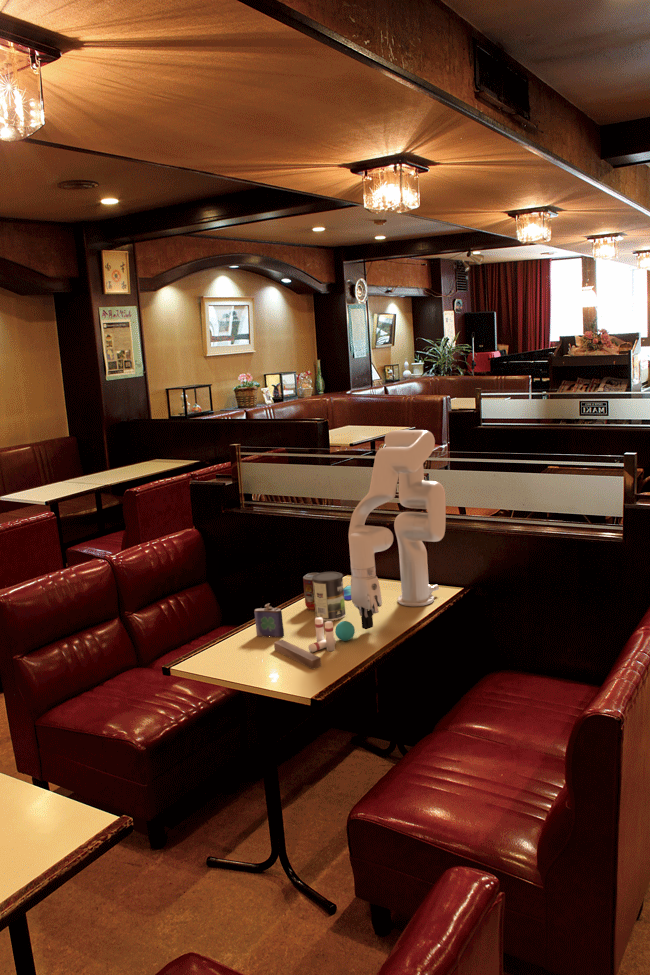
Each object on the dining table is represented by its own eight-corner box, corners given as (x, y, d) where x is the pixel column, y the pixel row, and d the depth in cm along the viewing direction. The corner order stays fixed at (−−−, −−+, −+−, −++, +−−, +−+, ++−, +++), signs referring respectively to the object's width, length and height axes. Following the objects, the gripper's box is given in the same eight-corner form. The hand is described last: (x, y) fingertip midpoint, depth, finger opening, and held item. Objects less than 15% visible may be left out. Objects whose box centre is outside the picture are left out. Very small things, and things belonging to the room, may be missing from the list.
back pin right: (321, 643, 229) (319, 616, 228) (326, 645, 227) (324, 618, 226) (315, 645, 228) (313, 618, 226) (320, 647, 226) (317, 620, 224)
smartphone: (331, 598, 269) (347, 585, 283) (331, 600, 270) (347, 587, 283) (350, 599, 266) (366, 586, 280) (351, 602, 266) (366, 588, 280)
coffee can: (348, 610, 256) (345, 571, 254) (342, 621, 246) (339, 580, 244) (318, 610, 258) (315, 571, 256) (312, 621, 249) (309, 580, 246)
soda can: (302, 611, 259) (299, 577, 257) (311, 604, 266) (308, 571, 264) (320, 612, 256) (317, 578, 254) (329, 605, 263) (326, 572, 261)
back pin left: (331, 647, 225) (329, 620, 224) (336, 649, 223) (334, 622, 222) (325, 649, 224) (322, 622, 222) (329, 652, 222) (327, 624, 220)
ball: (328, 628, 229) (337, 642, 232) (339, 633, 225) (349, 647, 227) (340, 615, 232) (349, 628, 234) (352, 619, 227) (361, 633, 230)
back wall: (282, 647, 228) (282, 639, 228) (321, 666, 212) (320, 657, 212) (274, 650, 227) (273, 642, 226) (312, 669, 211) (312, 660, 210)
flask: (255, 637, 239) (252, 605, 237) (259, 633, 242) (255, 602, 240) (282, 638, 236) (279, 605, 234) (285, 634, 239) (282, 602, 237)
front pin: (330, 635, 228) (307, 643, 223) (335, 637, 226) (312, 645, 221) (331, 643, 228) (308, 651, 224) (336, 645, 226) (313, 653, 222)
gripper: (388, 573, 228) (392, 630, 231) (357, 564, 240) (361, 618, 243) (369, 579, 223) (373, 637, 227) (339, 570, 235) (343, 625, 239)
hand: (367, 627), depth 235 cm, fingers closed
